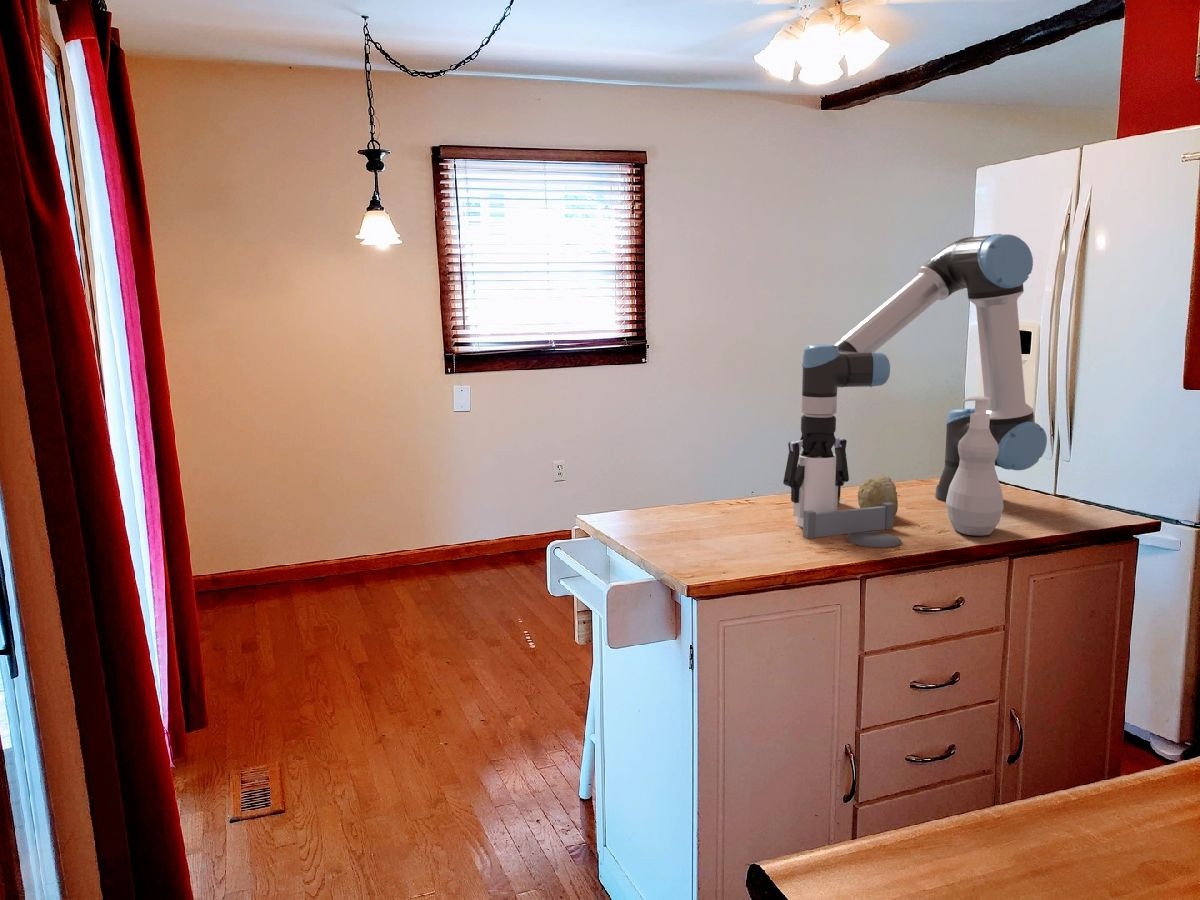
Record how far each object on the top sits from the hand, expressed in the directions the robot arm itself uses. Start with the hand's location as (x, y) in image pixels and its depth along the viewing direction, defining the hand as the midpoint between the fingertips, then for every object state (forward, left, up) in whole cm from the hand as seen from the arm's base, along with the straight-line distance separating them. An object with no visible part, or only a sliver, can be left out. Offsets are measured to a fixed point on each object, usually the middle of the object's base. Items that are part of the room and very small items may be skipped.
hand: (815, 514), depth 201 cm
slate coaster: (-4, +16, -2) cm, 17 cm away
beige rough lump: (-18, -2, -3) cm, 18 cm away
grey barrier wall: (-3, +9, -2) cm, 9 cm away
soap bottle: (-29, +17, -2) cm, 34 cm away
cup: (0, 0, -2) cm, 2 cm away
